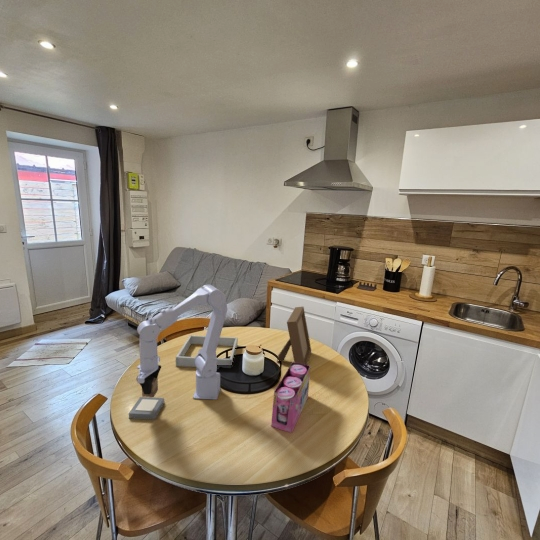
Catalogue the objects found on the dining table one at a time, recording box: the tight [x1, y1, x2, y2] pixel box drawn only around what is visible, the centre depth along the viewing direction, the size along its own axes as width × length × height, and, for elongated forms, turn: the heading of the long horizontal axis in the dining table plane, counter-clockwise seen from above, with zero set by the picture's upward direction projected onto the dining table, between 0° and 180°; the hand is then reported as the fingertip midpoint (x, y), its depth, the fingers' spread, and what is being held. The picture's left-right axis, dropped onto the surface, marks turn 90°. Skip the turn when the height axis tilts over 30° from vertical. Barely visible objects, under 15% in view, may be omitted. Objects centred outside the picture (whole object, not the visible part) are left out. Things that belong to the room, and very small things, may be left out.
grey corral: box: [175, 334, 238, 368], centre depth 147 cm, size 26×24×4 cm
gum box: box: [270, 361, 311, 434], centre depth 108 cm, size 24×8×14 cm, turn 159°
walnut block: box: [141, 378, 159, 398], centre depth 104 cm, size 4×4×5 cm
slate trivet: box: [128, 396, 165, 420], centre depth 106 cm, size 9×9×2 cm
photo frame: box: [276, 306, 312, 366], centre depth 145 cm, size 15×22×25 cm
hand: (150, 389), depth 105 cm, fingers closed on walnut block, 4 cm apart
